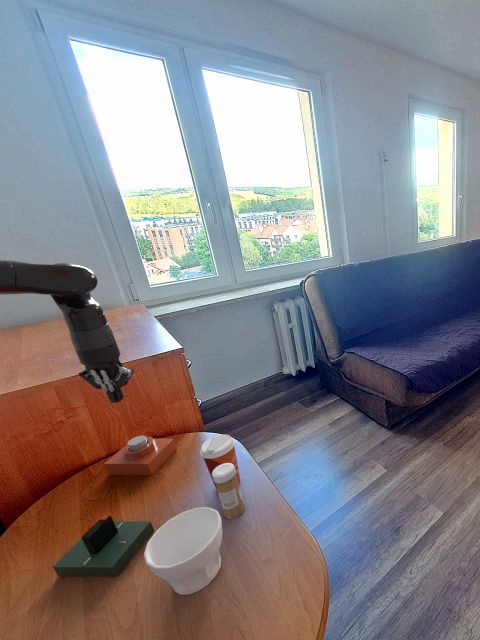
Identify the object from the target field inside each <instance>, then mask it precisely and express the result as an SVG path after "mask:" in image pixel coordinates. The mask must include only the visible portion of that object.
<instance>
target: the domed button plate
mask: <svg viewBox="0 0 480 640" xmlns="http://www.w3.org/2000/svg"><path fill="white" fill-rule="evenodd" d="M145 437H146V440H147V442H148V444H147V445H146V446H145V447H143V448H141V449H139V450H135V451H130V449H129V447H128V444H127V443H126V445H123V447H122V448H121V449H120V450H119V451H117V452H116V453H115V454H114V455H112V457H110V458H109V459H108V460H107V461H105V462H104V463H103V465H104V467H105V469H106V472H107V474H108V475H109V476H153V475H154V474H155V473H156V472H157V470H158V469H160V468H161V466H162V465H163V464H164V463H166V461H167V460H168V459H169V458H170V457H171V456H172V455H173V454H174V453H175V452H176V451H177V450H178V448H177V447H178V446H177V444H176V440H175V438H153V437H152V436H145ZM176 449H177V450H176ZM175 450H176V451H175ZM174 451H175V452H174ZM173 452H174V453H173ZM172 453H173V454H172ZM171 454H172V455H171Z"/></svg>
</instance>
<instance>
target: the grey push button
mask: <svg viewBox="0 0 480 640" xmlns="http://www.w3.org/2000/svg"><path fill="white" fill-rule="evenodd" d="M146 437H147V436H145V435H138V436H135V437H133V438H131V439H129V440H128V441H127V443H126V445H127V444H128V447H129V449H130V451H135V450H139V449H141V448H143V447H145V446H146V445H147V444H148V442H147V440H146Z"/></svg>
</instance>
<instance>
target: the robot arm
mask: <svg viewBox="0 0 480 640" xmlns="http://www.w3.org/2000/svg"><path fill="white" fill-rule="evenodd" d="M98 283H99V281H98V277H97V275H96V274H95V273H94V271H92V270H91V269H90V268H87V267H85V266H82V265H78V264H74V263H68V262H56V263H53V264H47V263H30V262H26V261H25V262H24V261H17V260H5V259H0V295H28V294H29V295H31V294H32V295H45V296H47V295H48V296H50V297H51V299H52V300H53V302H54V303H55V304H56V306H57V307H58V309H59V310H60V311H61V314H62V317H63V320H64V322H65V325H66V327H67V330H68V332H69V337H70V342H71V343H72V347H73V348H74V352H75V353H76V355H77V358H78V360H79V363H80V364H81V366H84V368H85V369H83V370H81V371H80V372H78V376H79V377H80V378H81V379H83V381H85V382H86V383H88V384H89V385H91V387H93V388H95V389H96V390H100V389H101V390H102V391H103V392H105V393H106V396H107V399H108V400H109V401H110V403H112V404H113V403H114V404H117V403H120V402H121V401H123V399H124V397H125V395H124V394H123V390H122V388H123V387H125V386H127V385H129V384H128V383H129V382H130V381H131V378H132V376H133V375H134V373H135V370H134V369H133V368H129V369H127V368H126V367H124V363H122V361H121V360H120V356H121V351H120V349H119V346H118V343H117V340H116V338H115V335H114V331H113V329H112V328H111V326H110V324H109V322H108V320H107V316H106V314H105V311H104V309H103V306H102V305H101V304H100V303H99V302H98V301H96V300H95V299H94V298H93V296H92V294H91V292H94V290H95V289H96V288H97V286H98Z"/></svg>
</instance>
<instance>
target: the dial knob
mask: <svg viewBox="0 0 480 640" xmlns="http://www.w3.org/2000/svg"><path fill="white" fill-rule="evenodd" d="M114 521H115V520H114V519H113V517H112V515H110V514H109V515H108V514H103V515H102V516H101V517H99V519H98V520H97V521H95V523H94V524H93V525H92V526H91V527H90V528H89V529H88V530H87V531H85V533H84V534H83V535H82V536H81V537H80V539H82V540H83V542H84V544H85V546H86V548H87V550H88V552H89V553H90V554H98V553H99V552H100V551H101V550H102V549H103V547H104V546H105V545H106V544H107V543H108V542H109V541H110V540H111V539H112V538H113V537H114V536H115V534H116V533H117V532H118V530H117V528H116V525H115V523H114Z"/></svg>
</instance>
